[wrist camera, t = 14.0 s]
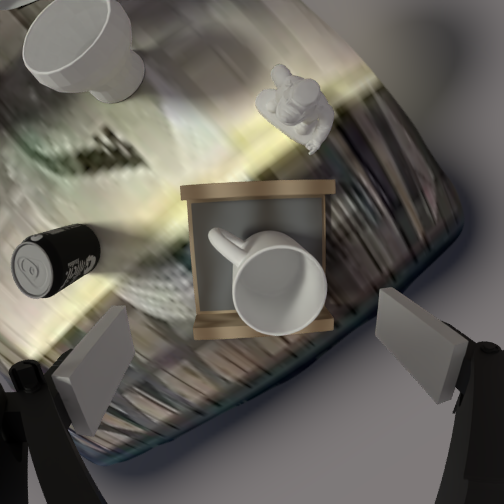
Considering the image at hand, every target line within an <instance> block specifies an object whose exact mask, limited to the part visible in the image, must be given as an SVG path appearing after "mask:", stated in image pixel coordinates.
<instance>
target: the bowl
mask: <svg viewBox="0 0 504 504" xmlns="http://www.w3.org/2000/svg"><path fill="white" fill-rule="evenodd" d="M34 1H36V0H0V10H9V9H13V8H17V7H20V6H23V5H26V4H29V3H31V2H34Z"/></svg>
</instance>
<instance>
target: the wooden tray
mask: <svg viewBox="0 0 504 504" xmlns="http://www.w3.org/2000/svg"><path fill="white" fill-rule="evenodd" d="M180 191H181V200H187V209H188V224H189V237H190V250H191V262H192V273H193V283H194V293H195V303H196V312H197V315H196V319H195V322H194V326H193V333H194V340H207V339H231V338H249V337H264V336H273V335H267V334H263V333H260V332H258V331H256V330H254V329H252V328H251V327H249V326H248V325H247V324H246V323H245V322H244V321H243V320H242V319H241V317H240V316H239V315H238V313H237V311H236V309H235V306H234V302H233V295H232V282H233V263H232V262H230V261H229V260H228V259H227V258H225V257H224V256H223V255H222V254H221V253H220V252H219V251H217V250H216V249H215V247H214V246H213V245H212V244H211V242H210V240H209V238H208V234H209V231H210V230H211V229H213V228H221V229H224V230H226V231H228V232H230V233H232V234H233V235H235V236H237V237H238V238H240V239H241V240H243V241H245V240H246V239H247V238H248V237H250V236H251V235H253V234H255V233H258V232H262V231H277V232H281V233H284V234H286V235H288V236H289V237H291V238H292V239H294V240H295V241H296V242H297V243H298V244H299V245H301V246H302V247H303V248H304V249H305V250H306V251H308V252H309V253H310V254H311V255H312V256H313V257H314V258H315V259H316V260H317V261H318V262H319V263H320V265H321V267H322V268H323V271H324V273H325V267H326V224H325V194H335V180H278V181H250V182H229V183H212V184H198V185H184V186H180ZM333 325H334V318H333V317H332V315H331V314H330V313H329V311H328V310H327V309H326V307H325V303H324V305H323V308H322V310H321V311H320V313H319V315H318V316H317V317H316V318H315V319H314V321H313V322H312V323H310V324H309V325H308V326H306V327H305V328H303V329H302V330H300V331H298V332H295V333H292V334H300V333H310V332H320V331H329V330H333ZM288 335H289V334H288Z"/></svg>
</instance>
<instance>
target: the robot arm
mask: <svg viewBox="0 0 504 504" xmlns="http://www.w3.org/2000/svg"><path fill="white" fill-rule="evenodd" d="M375 336H376V337H377V338H378V339H379V340H380V341H381V342H382V343H383V344H384V345H385V347H386V348H387V349H388V350H389V351H390V352H391V353H392V354H393V355H394V356H395V358H396V359H397V360H398V361H399V362H400V363H401V364H402V365H403V366H404V367H405V368H406V370H407V371H408V372H409V373H410V374H411V375H412V376H413V378H414V379H415V380H416V381H417V382H418V383H419V384H420V385H421V387H422V388H424V390H425V391H426V392H427V393H428V395H429V396H430V397H431V398H432V399H433V400H434V401H435V403H436V404H440V403H443V402H445V401H448V400H451V398H452V396H453V392H454V390H455V387H456V388H457V389H458V390H459V391H460V394H459V397H458V400H457V402H456V405H455V408H454V411H453V413H455V412H456V415H455V421H454V427H453V433H452V438H451V443H450V448H449V452H448V457H447V461H446V465H445V469H444V473H443V477H442V481H441V484H440V488H439V491H438V494H437V498H436V501H435V504H504V350H501V348H500V347H499V346H498V345H496V344H494V343H492V342H483V341H482V342H478V343H475V342H474V341H473V340H471V339H470V338H468V337H467V336H466V335H464V334H463V333H461V332H460V331H459V330H457V329H456V328H454V327H453V326H452V325H450V324H448V323H445V322H443V321H440V320H439V319H437V318H436V317H434V316H433V315H432V314H430V313H429V312H427V311H426V310H424V309H423V308H421V307H420V306H418V305H417V304H416V303H414V302H413V301H411V300H410V299H408V298H407V297H406V296H404V295H403V294H401V293H400V292H398V291H397V290H395V289H394V288H392V287H390V288H382V289H380V292H379V304H378V314H377V324H376V333H375ZM134 355H135V350H134V345H133V341H132V336H131V332H130V327H129V322H128V317H127V311H126V306H112V307H111V308H110V309H109V310H108V311H107V312H106V313H105V314H104V315H103V317H102V318H101V319H100V320H99V321H98V322H97V323H96V324H95V325H94V327H93V328H92V329H91V330H90V331H89V332H88V333H87V334H86V336H85V337H84V338H83V339H82V340H81V341H80V342H79V344H78V345H77V346H76V347H75V348H74V349H70V350H68V351H66V352H65V353H63V354H62V355H61V356H60V357H59V358H58V359H57V361H56V362H55V363H54V364H53V366H51V367H50V369H49V370H48V371H47V372H46V373H45V374H44V375H43V372H42V369H41V367H40V364H39V363H38V362H37V361H35V360H23V361H20V362H18V363H16V364H14V365H13V366H12V367H11V368H10V369H9V375H10V377H11V380H12V382H13V385H14V387H15V389H16V391H17V392H5V391H4V389H3V387H2V385H1V384H0V504H28V481H27V480H28V472H27V471H28V470H27V469H28V447H29V451H30V454H31V457H32V461H33V464H34V467H35V471H36V474H37V477H38V480H39V483H40V486H41V488H42V491H43V493H44V496H45V499H46V502H47V504H107V502H106V500H105V499H104V497H103V496H102V494H101V492H100V491H99V489H98V487H97V486H96V484H95V482H94V480H93V479H92V477H91V475H90V473H89V471H88V470H87V468H86V466H85V464H84V462H83V460H82V458H81V456H80V454H79V452H78V450H77V448H76V446H75V444H74V442H73V439H72V437H71V435H70V433H69V431H68V428H69V426H70V424H71V423H72V425H73V427H74V429H75V431H76V433H77V434H81V435H86V436H93V437H94V435H95V433H96V431H97V429H98V426H99V424H100V422H101V420H102V418H103V416H104V414H105V412H106V410H107V408H108V406H109V404H110V402H111V400H112V398H113V396H114V394H115V392H116V390H117V388H118V386H119V384H120V382H121V380H122V378H123V376H124V374H125V372H126V370H127V368H128V366H129V364H130V362H131V360H132V358H133V356H134Z"/></svg>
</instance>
